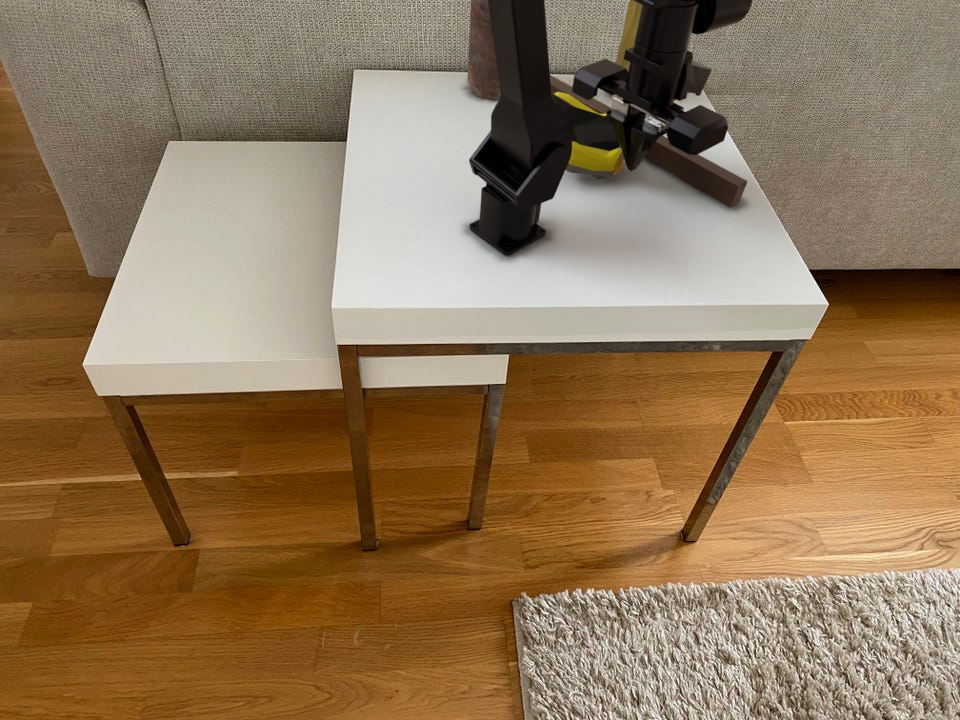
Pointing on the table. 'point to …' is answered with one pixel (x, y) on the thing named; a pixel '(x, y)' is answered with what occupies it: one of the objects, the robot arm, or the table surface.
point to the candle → (482, 53)
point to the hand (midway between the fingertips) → (631, 169)
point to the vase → (628, 33)
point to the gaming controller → (593, 142)
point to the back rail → (677, 159)
